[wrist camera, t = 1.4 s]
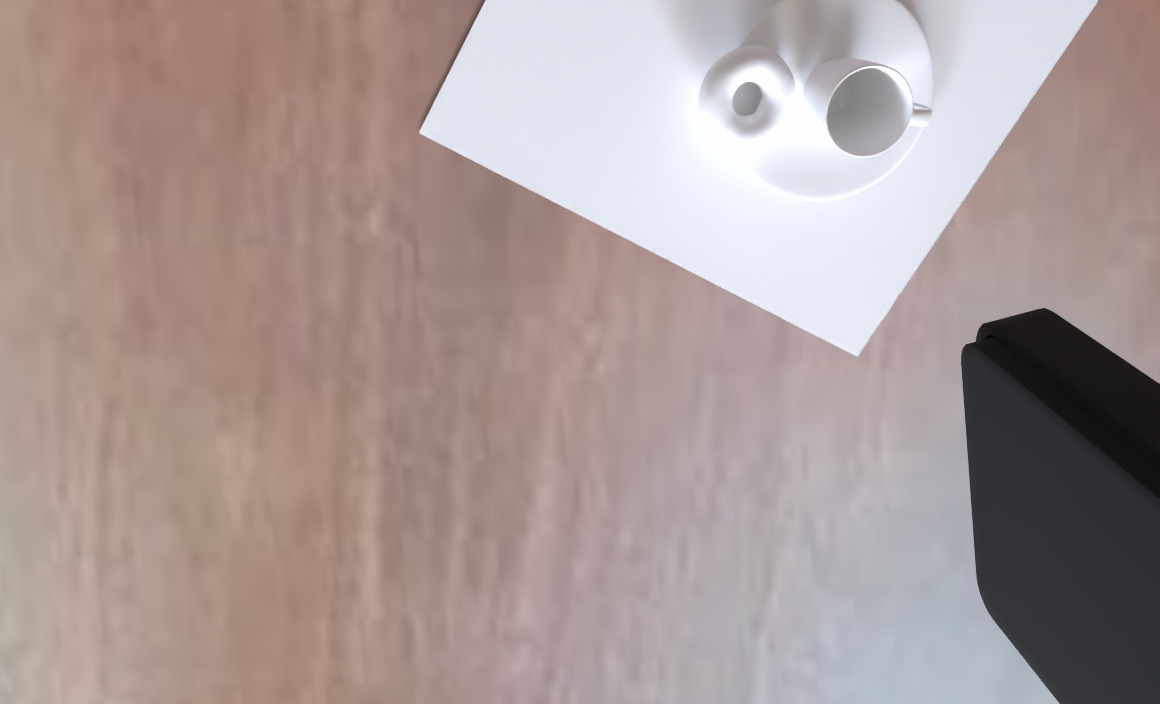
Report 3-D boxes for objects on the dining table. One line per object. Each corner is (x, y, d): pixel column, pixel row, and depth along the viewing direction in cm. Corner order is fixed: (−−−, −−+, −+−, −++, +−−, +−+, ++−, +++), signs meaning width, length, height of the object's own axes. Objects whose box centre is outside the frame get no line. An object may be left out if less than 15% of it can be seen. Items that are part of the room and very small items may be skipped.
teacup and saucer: (662, 127, 40) (689, 153, 36) (779, -76, 38) (819, -71, 34) (850, 231, 43) (892, 264, 39) (969, 47, 41) (1025, 65, 37)
